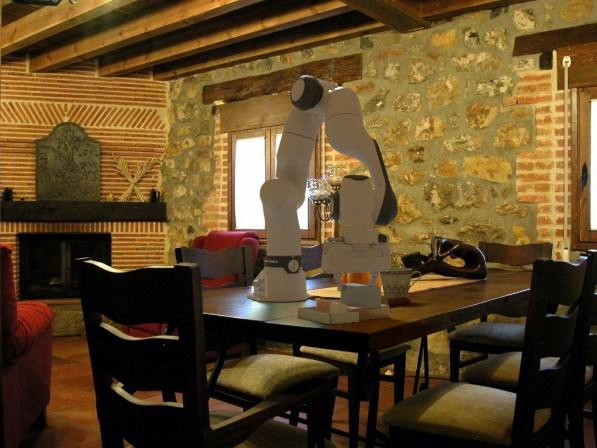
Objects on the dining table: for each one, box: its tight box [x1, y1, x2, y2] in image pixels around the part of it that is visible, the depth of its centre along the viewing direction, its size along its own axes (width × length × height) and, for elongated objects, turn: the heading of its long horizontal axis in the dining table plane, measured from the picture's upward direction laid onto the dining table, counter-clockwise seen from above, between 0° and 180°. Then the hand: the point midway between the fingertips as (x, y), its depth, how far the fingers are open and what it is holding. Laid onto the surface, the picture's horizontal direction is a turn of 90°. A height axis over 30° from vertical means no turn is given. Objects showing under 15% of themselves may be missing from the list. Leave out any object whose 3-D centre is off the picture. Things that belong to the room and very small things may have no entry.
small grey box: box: [340, 282, 382, 308], centre depth 158 cm, size 12×4×5 cm, turn 31°
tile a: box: [316, 299, 333, 314], centre depth 156 cm, size 4×4×2 cm
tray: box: [297, 305, 360, 326], centre depth 153 cm, size 14×8×2 cm, turn 32°
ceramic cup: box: [379, 267, 422, 299], centre depth 189 cm, size 13×10×10 cm
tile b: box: [330, 301, 346, 314], centre depth 151 cm, size 4×4×2 cm
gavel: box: [381, 295, 414, 307], centre depth 177 cm, size 21×5×10 cm
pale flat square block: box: [346, 304, 391, 322], centre depth 158 cm, size 12×11×3 cm
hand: (356, 290), depth 158 cm, fingers open, 8 cm apart
